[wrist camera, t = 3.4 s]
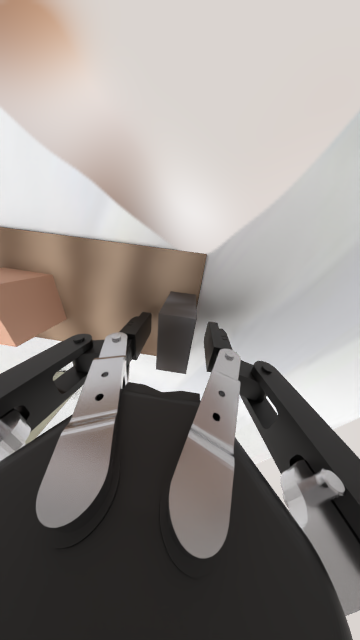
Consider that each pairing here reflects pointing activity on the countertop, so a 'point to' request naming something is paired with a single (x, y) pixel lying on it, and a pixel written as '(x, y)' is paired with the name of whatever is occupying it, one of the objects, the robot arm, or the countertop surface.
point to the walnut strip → (115, 288)
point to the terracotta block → (27, 305)
